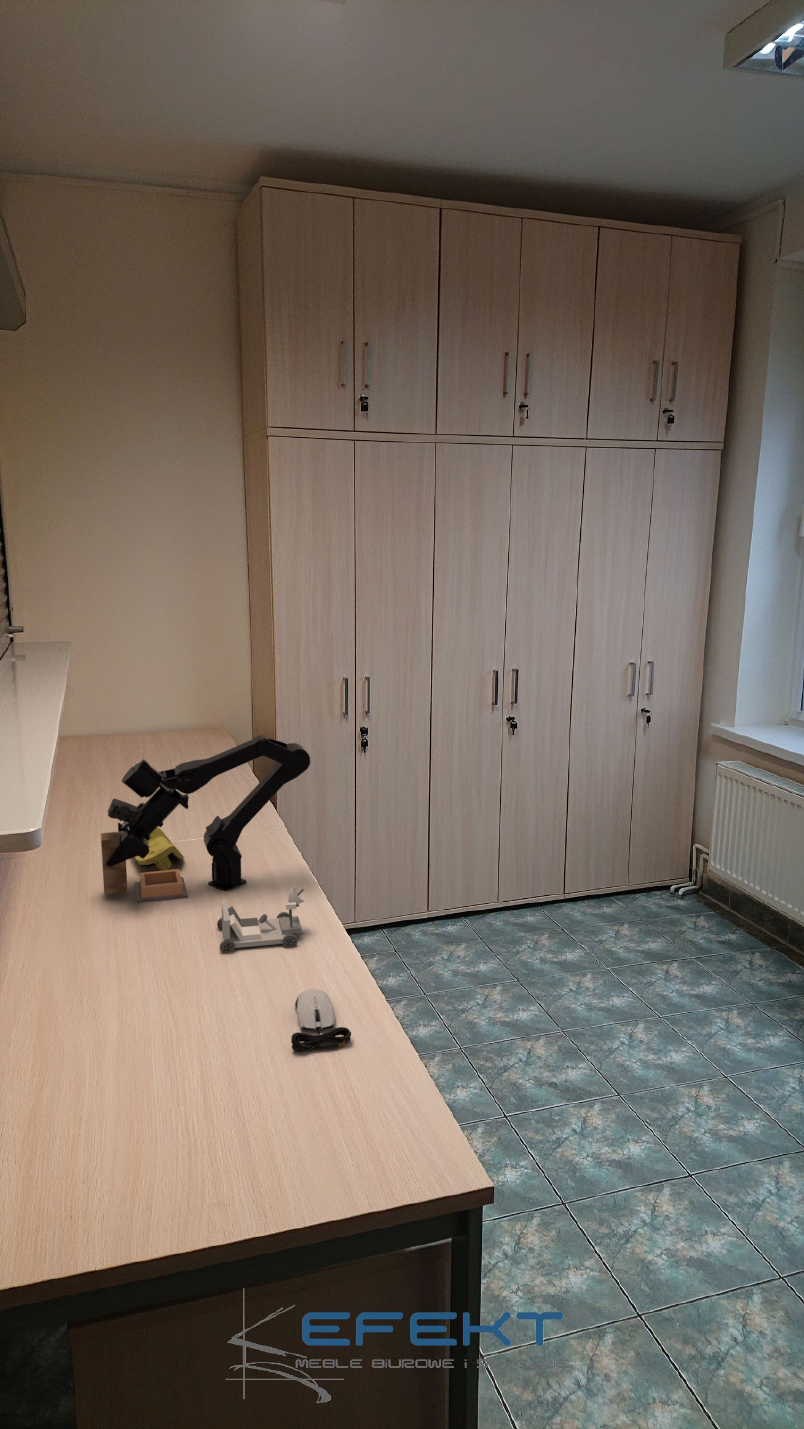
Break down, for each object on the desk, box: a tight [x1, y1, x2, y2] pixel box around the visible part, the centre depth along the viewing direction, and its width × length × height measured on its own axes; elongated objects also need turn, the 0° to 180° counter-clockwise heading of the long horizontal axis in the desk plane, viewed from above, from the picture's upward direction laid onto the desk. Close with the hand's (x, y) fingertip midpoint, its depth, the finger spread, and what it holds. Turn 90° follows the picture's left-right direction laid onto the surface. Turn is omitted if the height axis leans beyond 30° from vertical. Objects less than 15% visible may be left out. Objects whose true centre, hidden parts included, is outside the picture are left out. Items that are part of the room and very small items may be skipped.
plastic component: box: [134, 826, 185, 871], centre depth 231 cm, size 20×7×10 cm
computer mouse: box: [290, 988, 352, 1052], centre depth 159 cm, size 10×18×4 cm, turn 14°
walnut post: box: [100, 831, 128, 895], centre depth 209 cm, size 5×5×12 cm
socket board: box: [134, 868, 189, 904], centre depth 213 cm, size 11×11×3 cm
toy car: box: [216, 886, 306, 954], centre depth 191 cm, size 18×10×12 cm
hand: (107, 861), depth 208 cm, fingers closed on walnut post, 5 cm apart
